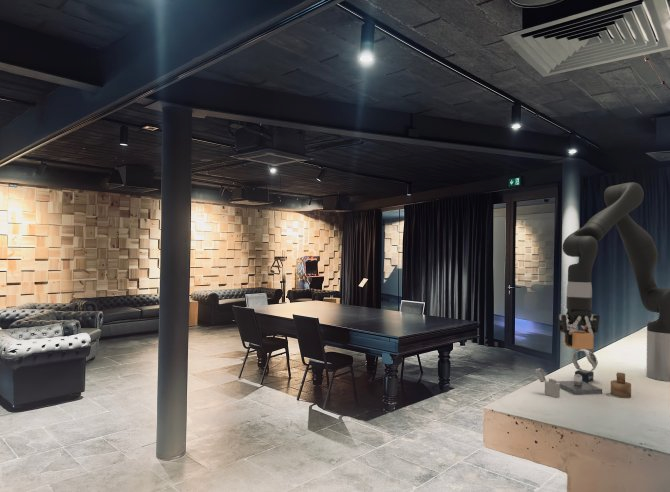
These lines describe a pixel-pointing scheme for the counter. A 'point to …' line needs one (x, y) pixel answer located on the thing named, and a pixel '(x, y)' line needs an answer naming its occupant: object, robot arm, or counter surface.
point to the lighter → (549, 385)
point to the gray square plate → (579, 386)
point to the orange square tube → (581, 340)
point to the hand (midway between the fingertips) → (578, 345)
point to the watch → (586, 375)
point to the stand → (621, 387)
